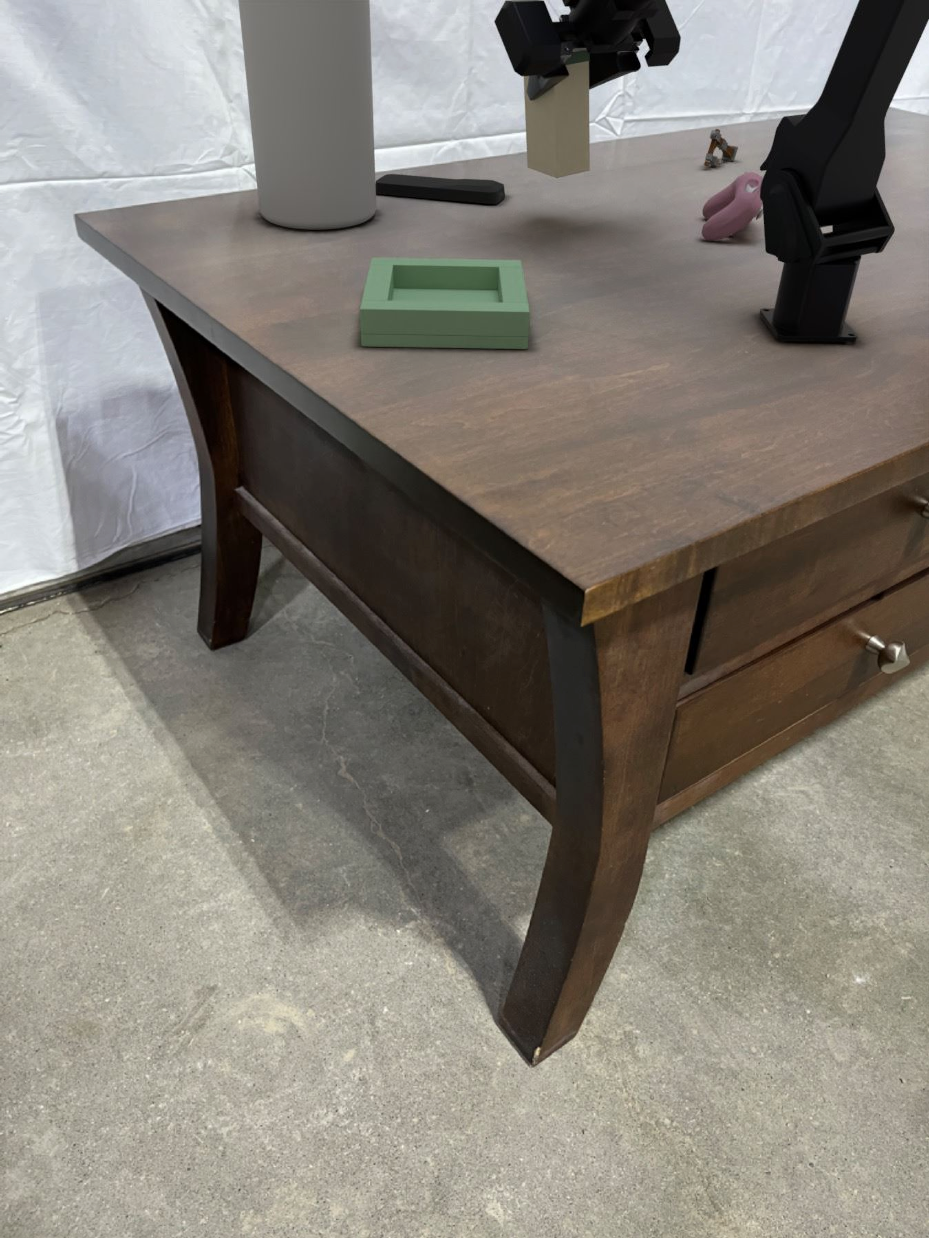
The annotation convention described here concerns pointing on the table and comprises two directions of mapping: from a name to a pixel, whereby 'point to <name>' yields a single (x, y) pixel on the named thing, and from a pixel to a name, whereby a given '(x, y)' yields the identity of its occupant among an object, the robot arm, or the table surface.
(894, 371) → the table surface
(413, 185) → the remote control
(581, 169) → the cream rectangular block
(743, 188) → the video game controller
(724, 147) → the grey brown angular piece
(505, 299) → the green rectangular tray
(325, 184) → the cylinder vase
